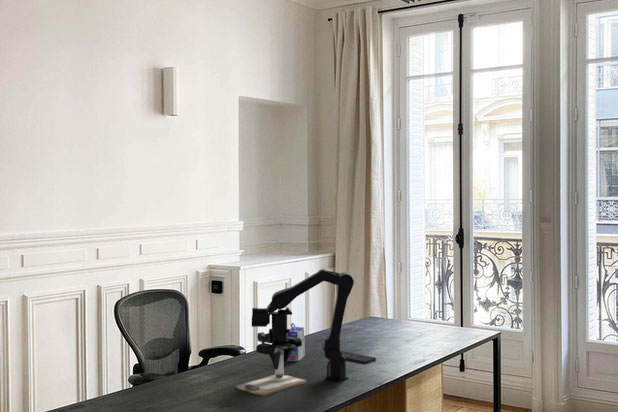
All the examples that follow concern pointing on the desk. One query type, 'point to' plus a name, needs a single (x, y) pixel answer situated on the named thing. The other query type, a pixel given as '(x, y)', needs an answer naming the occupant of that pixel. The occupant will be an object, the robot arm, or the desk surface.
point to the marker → (280, 365)
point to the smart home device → (358, 357)
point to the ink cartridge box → (298, 351)
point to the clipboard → (270, 384)
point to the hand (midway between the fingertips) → (279, 368)
